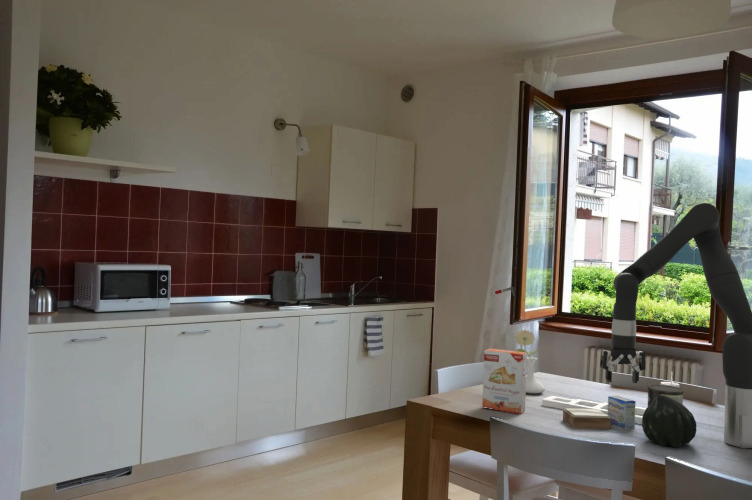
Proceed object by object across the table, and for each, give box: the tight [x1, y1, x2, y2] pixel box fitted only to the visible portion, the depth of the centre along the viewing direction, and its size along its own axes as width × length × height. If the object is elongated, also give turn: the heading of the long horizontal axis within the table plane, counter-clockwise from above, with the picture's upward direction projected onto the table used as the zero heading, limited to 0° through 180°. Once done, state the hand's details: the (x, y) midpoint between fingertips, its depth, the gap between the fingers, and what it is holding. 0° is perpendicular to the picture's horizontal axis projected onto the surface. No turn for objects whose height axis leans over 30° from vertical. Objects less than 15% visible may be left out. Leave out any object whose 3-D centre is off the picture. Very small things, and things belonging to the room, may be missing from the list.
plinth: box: [562, 408, 612, 430], centre depth 205 cm, size 10×12×4 cm
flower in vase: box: [514, 329, 546, 394], centre depth 253 cm, size 13×11×25 cm
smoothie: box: [659, 371, 680, 388], centre depth 230 cm, size 6×6×14 cm
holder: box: [541, 395, 647, 425], centre depth 223 cm, size 45×18×3 cm, turn 50°
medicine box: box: [607, 395, 636, 429], centre depth 206 cm, size 8×4×9 cm, turn 25°
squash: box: [641, 394, 697, 448], centre depth 186 cm, size 14×15×15 cm
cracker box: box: [481, 347, 528, 415], centre depth 221 cm, size 14×6×21 cm, turn 62°
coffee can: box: [647, 384, 684, 407], centre depth 198 cm, size 10×10×14 cm
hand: (621, 382), depth 207 cm, fingers open, 8 cm apart
